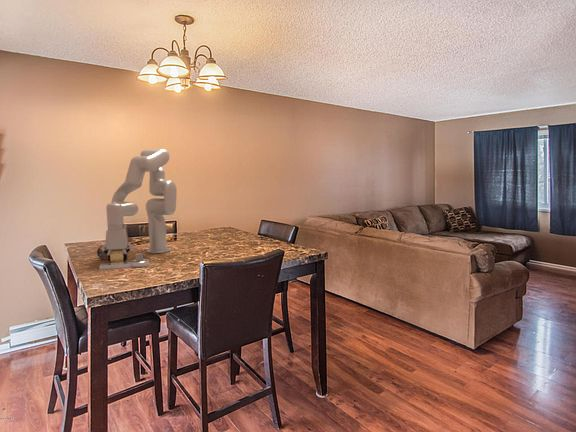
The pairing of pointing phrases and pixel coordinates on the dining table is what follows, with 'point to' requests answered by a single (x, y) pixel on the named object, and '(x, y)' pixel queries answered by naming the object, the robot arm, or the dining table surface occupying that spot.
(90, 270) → the dining table surface
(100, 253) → the tin
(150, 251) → the robot arm
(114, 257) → the tan wooden cube
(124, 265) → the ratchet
